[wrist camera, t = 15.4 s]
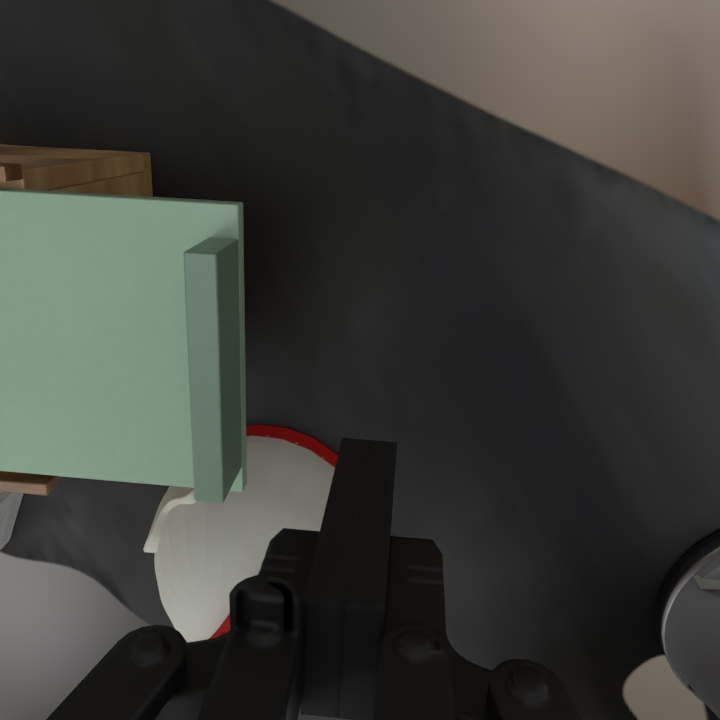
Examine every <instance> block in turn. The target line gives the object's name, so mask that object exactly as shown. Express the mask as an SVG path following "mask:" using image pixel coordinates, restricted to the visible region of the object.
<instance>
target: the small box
mask: <svg viewBox="0 0 720 720" xmlns="http://www.w3.org/2000/svg"><path fill="white" fill-rule="evenodd" d="M23 494H24V493H13V492H2V491H0V550H1V549H2V548H3V547H4V546H5V545H6V543H7V542H8V541H9V540H10V538H11V534H12V531H13V527H14V524H15V521H16V517H17V514H18V510H19V507H20V504H21V500H22V497H23Z"/></svg>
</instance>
